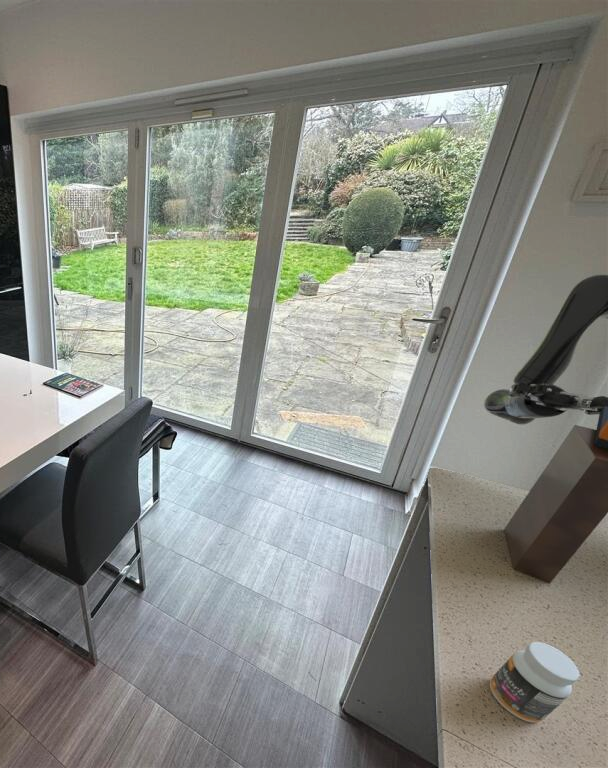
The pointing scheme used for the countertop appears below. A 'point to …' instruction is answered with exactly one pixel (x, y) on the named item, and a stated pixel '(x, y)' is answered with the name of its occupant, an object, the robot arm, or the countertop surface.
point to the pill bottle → (534, 681)
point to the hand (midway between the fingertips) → (574, 394)
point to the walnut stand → (560, 507)
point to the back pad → (599, 426)
